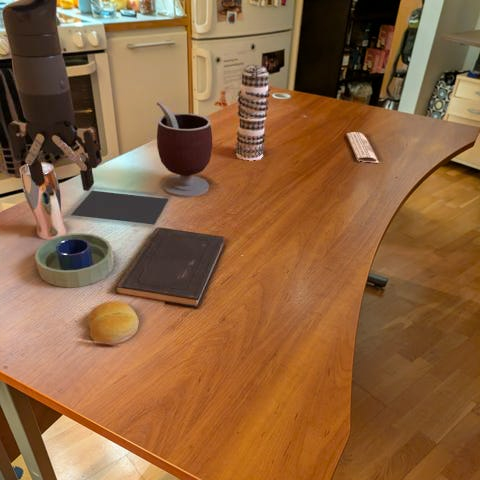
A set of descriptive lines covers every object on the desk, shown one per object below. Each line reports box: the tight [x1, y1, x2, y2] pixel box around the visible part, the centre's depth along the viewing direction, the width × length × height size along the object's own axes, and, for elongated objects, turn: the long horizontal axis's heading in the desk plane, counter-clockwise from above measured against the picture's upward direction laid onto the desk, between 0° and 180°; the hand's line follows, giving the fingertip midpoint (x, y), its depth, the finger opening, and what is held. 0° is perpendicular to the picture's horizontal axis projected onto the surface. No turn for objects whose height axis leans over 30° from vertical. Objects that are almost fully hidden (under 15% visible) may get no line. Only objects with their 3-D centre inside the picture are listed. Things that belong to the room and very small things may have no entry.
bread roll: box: [87, 300, 140, 345], centre depth 78 cm, size 8×9×4 cm
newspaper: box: [346, 131, 380, 164], centre depth 153 cm, size 24×7×2 cm, turn 178°
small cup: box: [56, 238, 93, 271], centre depth 91 cm, size 6×6×5 cm
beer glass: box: [19, 161, 67, 240], centre depth 97 cm, size 7×7×15 cm
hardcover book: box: [114, 226, 226, 309], centre depth 93 cm, size 16×23×2 cm
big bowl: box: [34, 232, 114, 289], centre depth 91 cm, size 14×14×4 cm
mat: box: [70, 190, 169, 225], centre depth 112 cm, size 20×16×1 cm
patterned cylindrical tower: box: [235, 64, 271, 162], centre depth 136 cm, size 9×9×25 cm
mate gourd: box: [156, 101, 213, 198], centre depth 118 cm, size 16×14×20 cm
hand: (64, 186), depth 81 cm, fingers open, 8 cm apart
